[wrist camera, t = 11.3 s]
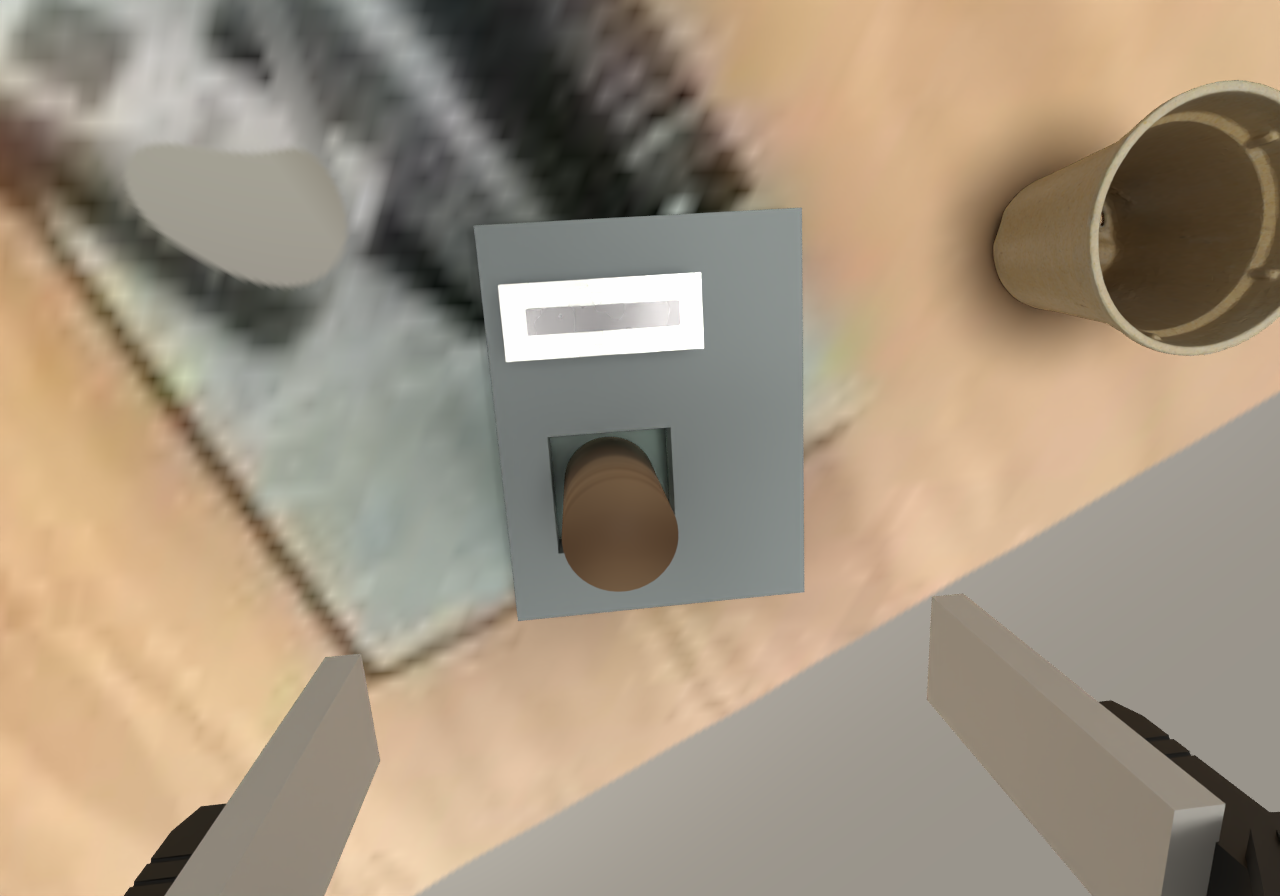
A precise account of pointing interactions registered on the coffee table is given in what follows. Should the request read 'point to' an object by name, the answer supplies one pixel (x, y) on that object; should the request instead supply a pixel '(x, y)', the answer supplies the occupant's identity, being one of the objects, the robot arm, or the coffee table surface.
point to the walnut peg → (616, 517)
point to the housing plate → (662, 403)
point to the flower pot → (1161, 226)
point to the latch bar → (601, 316)
